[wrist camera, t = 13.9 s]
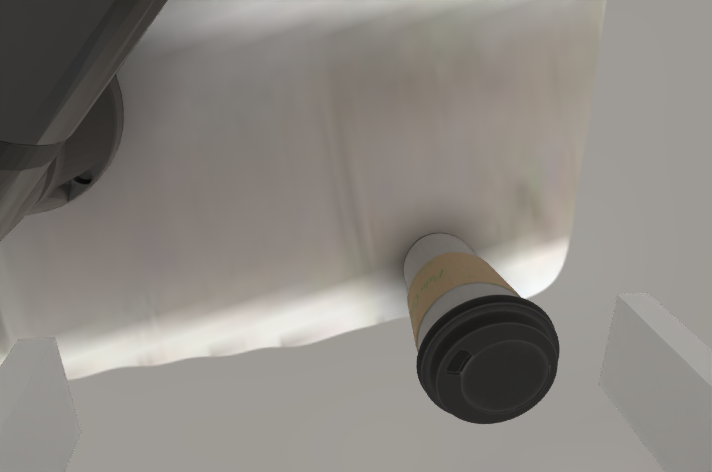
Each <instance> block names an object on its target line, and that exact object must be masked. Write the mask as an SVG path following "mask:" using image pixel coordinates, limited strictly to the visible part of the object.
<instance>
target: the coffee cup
mask: <svg viewBox="0 0 712 472" xmlns="http://www.w3.org/2000/svg"><path fill="white" fill-rule="evenodd" d="M404 277H405V282H406V287H407V292H408V308H409V313H410V318H411V323H412V328H413V333H414V338H415V343H416V347H417V351H418V356H417V374H418V378H419V381H420V383H421V385H422V387H423V389H424V390H425V392H426V393H427V395H428V396H429V398H430V399H431V400H432V401H433V402H434V403H435V404H436V405H437V406H438V407H440V408H441V409H443V410H444V411H446V412H448V413H450V414H452V415H454V416H456V417H457V418H459V419H462V420H464V421H467V422H471V423H477V424H492V423H498V422H503V421H507V420H510V419H513V418H515V417H517V416H520V415H522V414H523V413H525V412H527V411H528V410H530V409H531V408H532V407H533V406H535V405H536V404H537V403H538V402H540V401H541V399H542V398H543V397H544V396H545V395H546V393H547V392H548V391H549V389H550V388H551V386H552V384H553V382H554V379H555V376H556V372H557V365H558V358H559V341H558V336H557V333H556V331H555V329H554V326H553V324H552V321H551V320H550V318H549V317H548V315H547V314H546V313H545V312H544V311H543V310H542V309H541V308H540V307H538V306H537V305H535V304H534V303H532V302H530V301H528V300H526V299H523V298H521V297H520V296H519V295H518V293H517V292H516V291H515V290H514V289H513V288H512V287H511V286H510V285H509V284H508V283H507V282H506V281H505V280H504V279H503V278H502V277H501V276H500V275H499V274H498V273H497V272H496V271H495V270H494V269H493V268H492V267H491V266H490V265H489V264H488V263H487V262H485V261H484V260H482V259H481V258H479V257H478V256H477V255H476V254H475V253H474V252H473V251H472V250H471V249H470V248H469V247H468V246H467V245H466V244H465V243H464V242H463V241H462V240H460V239H459V238H457V237H455V236H452V235H449V234H443V233H435V234H430V235H427V236H425V237H423V238H421V239H419V240H418V241H417V242H416V243H415V244H414V245H413V246H412V247H411V249H410V250H409V252H408V254H407V256H406V258H405V262H404Z"/></svg>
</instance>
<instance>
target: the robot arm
mask: <svg viewBox="0 0 712 472" xmlns="http://www.w3.org/2000/svg"><path fill="white" fill-rule="evenodd" d="M167 1H168V0H0V241H1V240H2V239H3V238H4V237H5V236H6V235H7V234H8V233H9V232H10V231H11V230H12V229H13V228H14V227H15V226H16V225H17V224H18V223H19V222H20V221H21V220H22V219H23V218H24V217H25V216H27V215H31V214H36V213H41V212H45V211H49V210H52V209H55V208H58V207H60V206H63V205H65V204H67V203H69V202H70V201H72V200H74V199H76V198H77V197H79V196H80V195H82V194H83V193H84V192H85V191H87V190H88V189H89V188H90V187H91V186H92V185H93V184H94V183H95V182H96V181H97V180H98V178H99V177H100V176H101V175H102V174H103V172H104V171H105V170H106V169H107V167H108V166H109V164H110V163H111V161H112V159H113V158H114V156H115V153H116V151H117V149H118V146H119V143H120V139H121V135H122V130H123V103H122V97H121V92H120V88H119V85H118V82H117V79H116V76H115V74H116V72H117V71H118V69H119V68H120V67H121V65H122V64H123V62H124V61H125V60H126V58H127V57H128V55H129V54H130V53H131V51H132V50H133V48H134V47H135V46H136V44H137V43H138V41H139V40H140V39H141V37H142V36H143V34H144V33H145V32H146V30H147V29H148V27H149V26H150V25H151V23H152V22H153V20H154V19H155V17H156V16H157V15H158V13H159V12H160V10H161V9H162V8H163V6H164V5H165V3H166V2H167ZM599 386H600V387H601V388H602V389H603V391H604V392H605V393H606V395H607V396H608V397H609V399H610V400H611V401H612V403H613V404H614V405H615V407H616V408H617V409H618V411H619V412H620V413H621V414H622V416H623V417H624V418H625V420H626V421H627V422H628V423H629V425H630V426H631V427H632V429H633V430H634V432H635V433H636V434H637V435H638V437H639V438H640V439H641V441H642V442H643V443H644V445H645V446H646V447H647V449H648V450H649V451H650V453H651V454H652V455H653V456H654V458H655V459H656V460H657V462H658V463H659V464H660V466H661V467H662V468H663V470H664V471H665V472H712V350H710V349H709V347H707V346H706V345H705V344H704V343H703V342H702V341H701V340H700V339H699V338H697V337H696V336H695V335H694V334H693V333H692V332H691V331H690V330H688V329H687V328H686V327H685V326H684V325H683V324H682V323H681V322H680V321H678V320H677V319H676V318H675V317H674V316H673V315H672V314H671V313H669V312H668V311H667V310H666V309H665V308H664V307H663V306H662V305H661V304H659V303H658V302H657V301H656V300H655V299H654V298H653V297H652V296H651V295H649V294H648V293H647V292H645V293H632V294H618V295H617V299H616V305H615V309H614V313H613V318H612V323H611V327H610V332H609V337H608V342H607V346H606V351H605V355H604V360H603V365H602V370H601V375H600V379H599ZM80 434H81V429H80V426H79V422H78V419H77V415H76V411H75V408H74V404H73V400H72V397H71V393H70V389H69V386H68V382H67V379H66V375H65V371H64V368H63V364H62V361H61V357H60V353H59V350H58V346H57V342H56V339H55V337H49V338H35V339H22V340H18V341H17V342H16V344H15V345H14V347H13V348H12V350H11V351H10V353H9V354H8V356H7V357H6V359H5V360H4V362H3V363H2V365H1V366H0V472H65V470H66V468H67V466H68V463H69V460H70V458H71V456H72V454H73V451H74V449H75V446H76V444H77V441H78V439H79V436H80Z"/></svg>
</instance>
